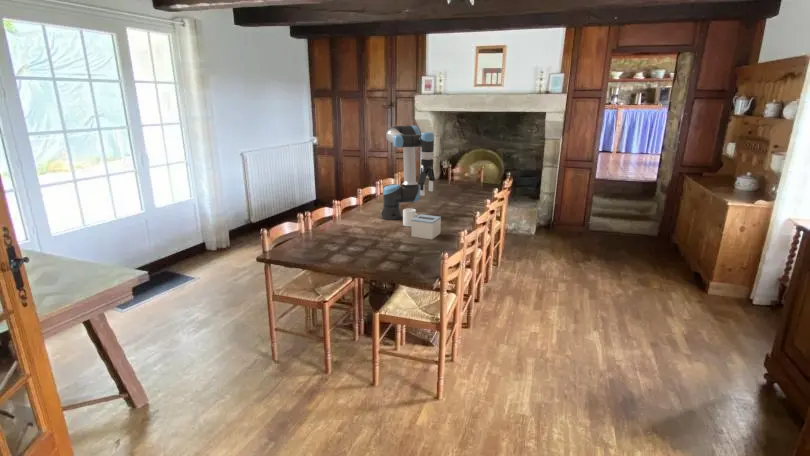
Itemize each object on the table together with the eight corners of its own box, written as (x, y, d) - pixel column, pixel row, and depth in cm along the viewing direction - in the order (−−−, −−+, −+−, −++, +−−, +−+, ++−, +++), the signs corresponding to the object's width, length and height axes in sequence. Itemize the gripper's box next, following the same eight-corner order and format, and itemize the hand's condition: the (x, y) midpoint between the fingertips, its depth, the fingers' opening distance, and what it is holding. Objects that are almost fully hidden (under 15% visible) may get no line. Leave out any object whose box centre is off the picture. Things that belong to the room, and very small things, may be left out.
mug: (416, 228, 286) (416, 212, 283) (400, 225, 292) (400, 210, 289) (422, 225, 293) (422, 209, 290) (406, 222, 299) (406, 207, 296)
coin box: (411, 236, 269) (411, 219, 266) (420, 230, 281) (420, 214, 278) (432, 239, 264) (432, 222, 260) (440, 233, 276) (440, 216, 273)
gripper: (424, 161, 247) (424, 197, 253) (440, 156, 269) (439, 189, 275) (413, 160, 250) (412, 196, 256) (429, 155, 272) (428, 188, 278)
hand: (426, 193), depth 266 cm, fingers open, 13 cm apart
